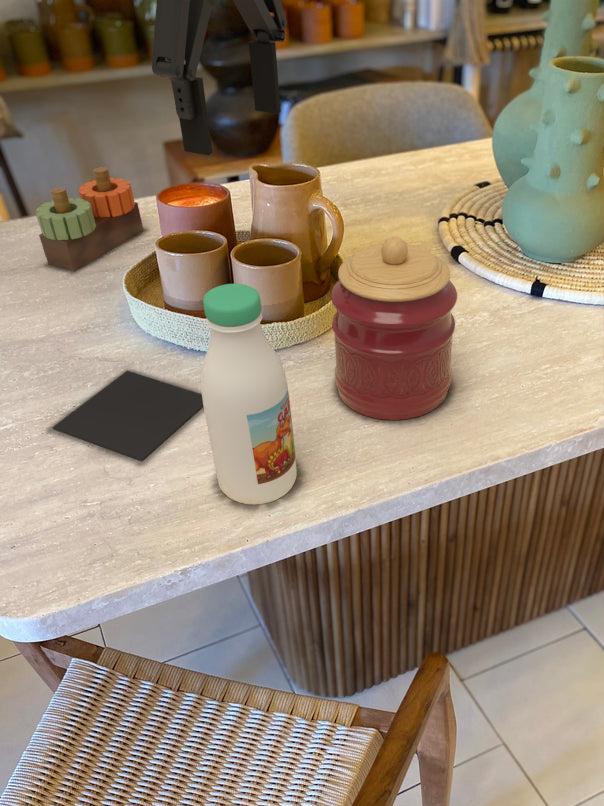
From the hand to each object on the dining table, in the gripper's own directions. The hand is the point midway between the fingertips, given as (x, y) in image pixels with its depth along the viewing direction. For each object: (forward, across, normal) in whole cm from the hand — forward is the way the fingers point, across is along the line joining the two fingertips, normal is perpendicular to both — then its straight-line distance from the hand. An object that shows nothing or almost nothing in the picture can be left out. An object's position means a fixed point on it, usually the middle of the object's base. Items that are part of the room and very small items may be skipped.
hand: (235, 130), depth 78 cm
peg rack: (+24, +13, +35) cm, 44 cm away
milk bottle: (+24, -23, -13) cm, 36 cm away
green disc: (+20, +8, +35) cm, 41 cm away
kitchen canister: (+24, -4, -20) cm, 31 cm away
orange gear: (+20, +17, +34) cm, 43 cm away
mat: (+24, -19, +4) cm, 31 cm away
